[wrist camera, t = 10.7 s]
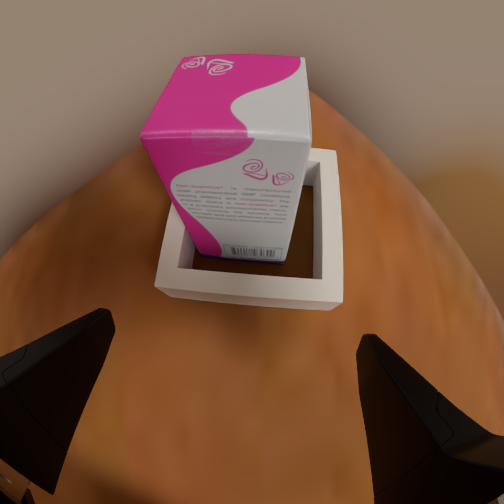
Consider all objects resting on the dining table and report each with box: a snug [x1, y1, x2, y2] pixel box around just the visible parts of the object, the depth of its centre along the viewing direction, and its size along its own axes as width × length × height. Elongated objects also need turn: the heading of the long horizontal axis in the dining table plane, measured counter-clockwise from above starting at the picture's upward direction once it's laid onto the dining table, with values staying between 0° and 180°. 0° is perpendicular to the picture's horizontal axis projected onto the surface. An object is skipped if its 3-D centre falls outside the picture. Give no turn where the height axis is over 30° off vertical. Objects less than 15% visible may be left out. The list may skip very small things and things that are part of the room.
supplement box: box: [140, 54, 312, 264], centre depth 14 cm, size 6×6×12 cm
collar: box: [154, 148, 343, 310], centre depth 18 cm, size 10×10×3 cm
